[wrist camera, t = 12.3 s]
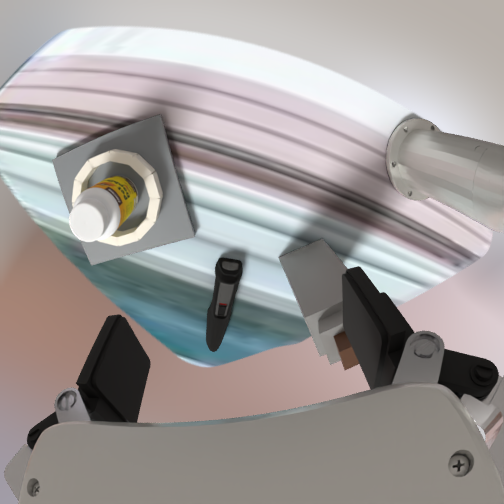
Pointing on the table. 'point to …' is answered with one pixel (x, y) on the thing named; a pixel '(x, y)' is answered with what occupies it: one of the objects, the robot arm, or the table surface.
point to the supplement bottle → (103, 208)
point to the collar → (144, 178)
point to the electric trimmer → (222, 300)
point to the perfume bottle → (320, 298)
